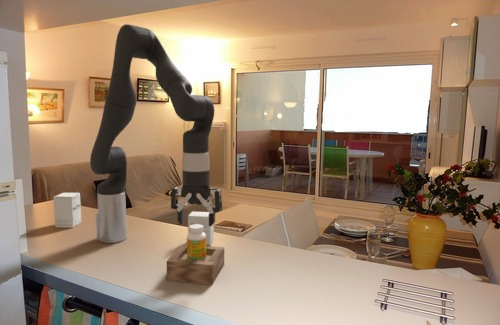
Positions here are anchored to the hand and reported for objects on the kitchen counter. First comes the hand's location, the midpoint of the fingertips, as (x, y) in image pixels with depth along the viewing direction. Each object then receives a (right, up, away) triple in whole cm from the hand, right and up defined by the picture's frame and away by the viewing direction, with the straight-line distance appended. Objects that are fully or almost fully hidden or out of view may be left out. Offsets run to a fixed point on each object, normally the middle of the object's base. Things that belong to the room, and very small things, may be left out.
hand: (196, 224), depth 103 cm
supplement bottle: (0, -10, +2) cm, 10 cm away
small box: (-2, -11, +26) cm, 28 cm away
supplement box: (-58, -8, +43) cm, 73 cm away
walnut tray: (0, -14, +2) cm, 14 cm away
